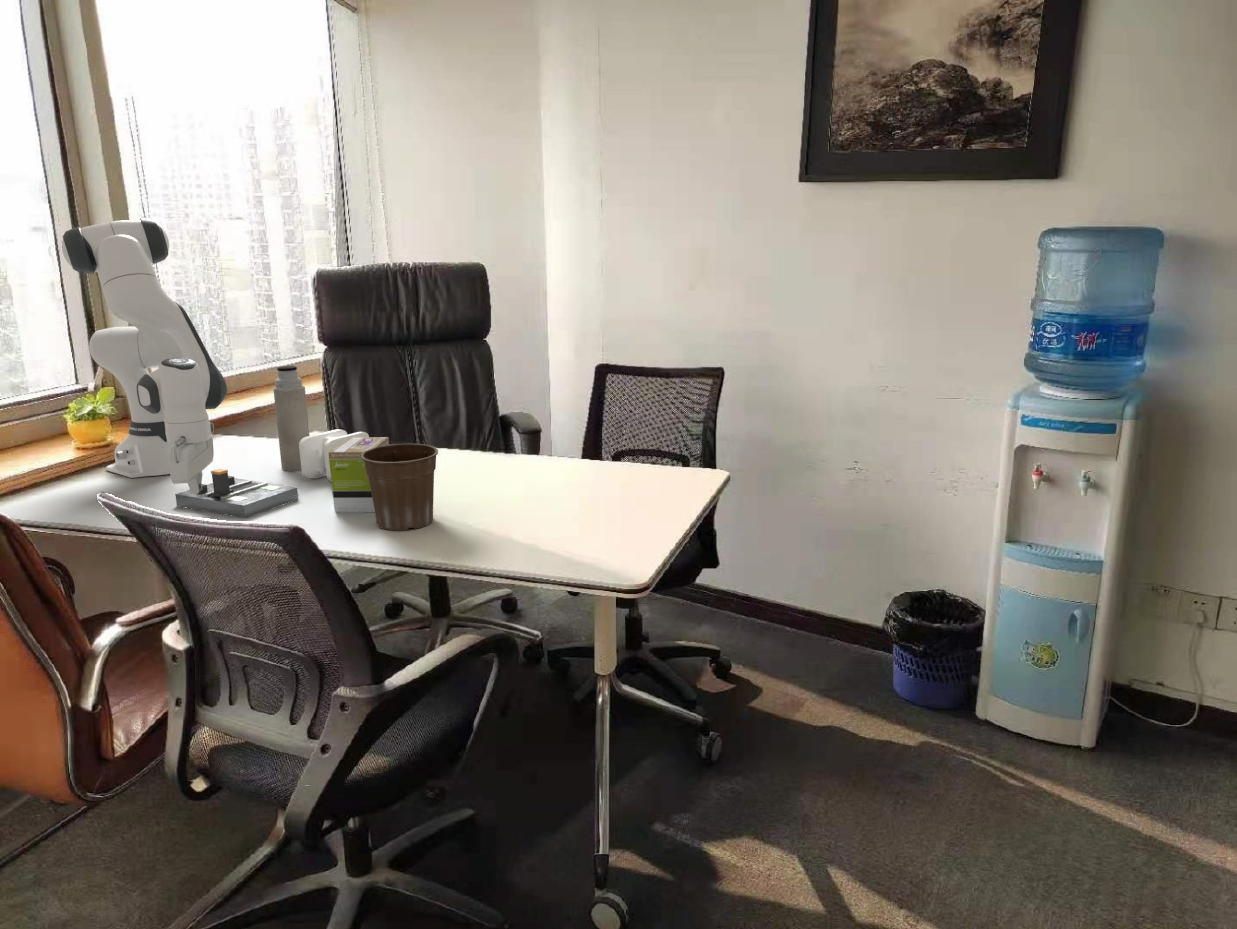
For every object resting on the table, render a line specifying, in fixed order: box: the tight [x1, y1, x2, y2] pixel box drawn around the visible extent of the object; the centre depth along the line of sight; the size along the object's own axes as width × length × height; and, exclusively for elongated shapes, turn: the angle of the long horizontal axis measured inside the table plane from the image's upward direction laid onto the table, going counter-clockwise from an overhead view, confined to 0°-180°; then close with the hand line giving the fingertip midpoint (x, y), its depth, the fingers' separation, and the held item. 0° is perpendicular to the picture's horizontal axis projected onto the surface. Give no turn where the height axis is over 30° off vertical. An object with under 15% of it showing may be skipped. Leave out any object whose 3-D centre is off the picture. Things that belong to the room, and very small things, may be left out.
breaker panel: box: [174, 475, 299, 519], centre depth 203 cm, size 22×16×5 cm
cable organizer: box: [299, 429, 370, 481], centre depth 225 cm, size 15×11×12 cm
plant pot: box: [361, 443, 439, 532], centre depth 186 cm, size 16×16×16 cm
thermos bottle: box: [272, 365, 311, 472], centre depth 232 cm, size 8×8×28 cm
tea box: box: [329, 436, 390, 513], centre depth 201 cm, size 15×10×15 cm, turn 178°
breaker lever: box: [210, 468, 234, 497], centre depth 198 cm, size 3×4×6 cm
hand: (196, 492), depth 192 cm, fingers closed
